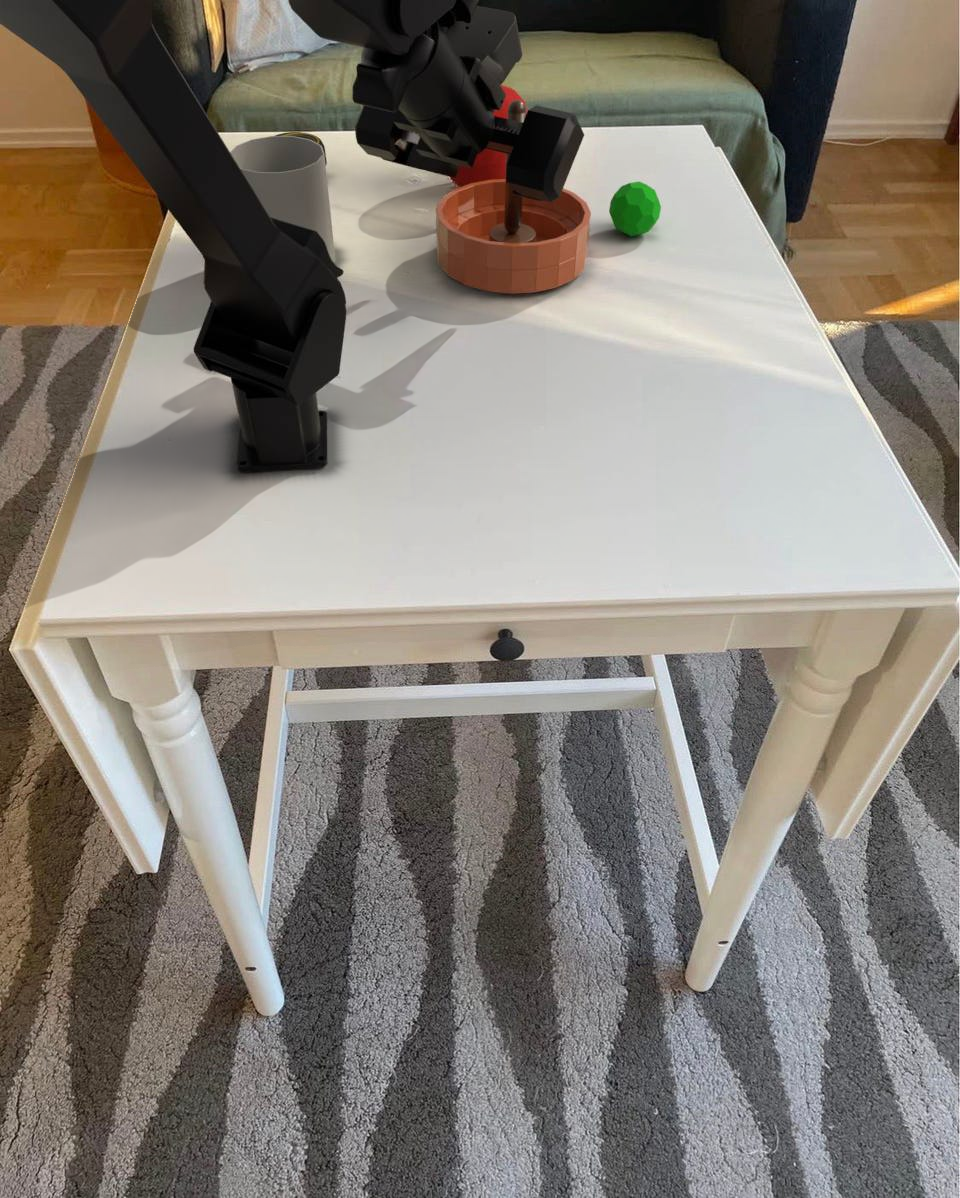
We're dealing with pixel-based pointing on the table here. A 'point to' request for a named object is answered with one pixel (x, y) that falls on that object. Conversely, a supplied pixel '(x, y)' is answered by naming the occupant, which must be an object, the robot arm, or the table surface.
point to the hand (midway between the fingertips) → (499, 183)
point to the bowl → (511, 264)
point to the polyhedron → (635, 208)
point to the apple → (488, 153)
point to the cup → (289, 181)
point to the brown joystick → (513, 200)
